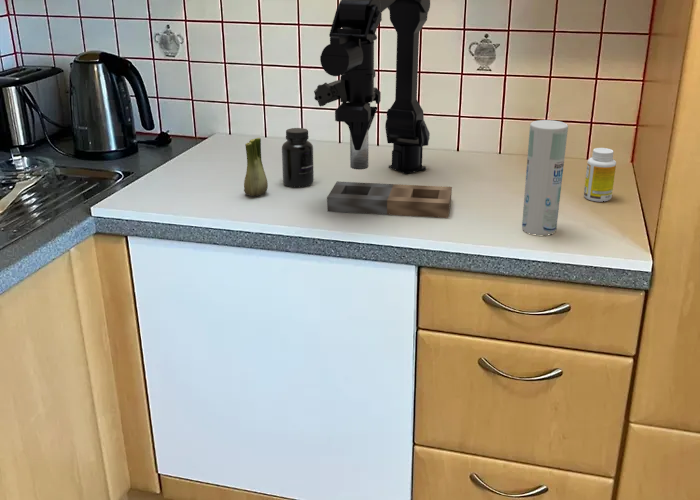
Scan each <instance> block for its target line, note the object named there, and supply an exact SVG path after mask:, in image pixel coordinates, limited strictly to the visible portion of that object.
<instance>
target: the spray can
mask: <svg viewBox="0 0 700 500" xmlns="http://www.w3.org/2000/svg"><path fill="white" fill-rule="evenodd" d="M568 131H569V126H568V124H567V123H566V122H563V121H559V120H552V119H551V120H550V119H541V120H534V121H532V122H530V124H529V134H528V147H527V148H528V149H527V158H526V171H525V172H526V175H525V185H524V194H523V195H524V197H523V209H522V221H521V228H522V229H523V230H524V231H525V232H524V231H523V230H522V231H523V232H524V233H526V232H527V233H526V234H528V233H530V234H529V235H531V234H536V235H548V234H552V233H554V232H555V231H557V227H558V219H559V209H560V201H561V191H562V182H563V174H564V168H565V167H564V166H565V158H566V148H567V139H568ZM555 233H556V232H555ZM555 233H554V234H555ZM536 235H535V236H536ZM552 235H553V234H552ZM548 236H549V235H548Z"/></svg>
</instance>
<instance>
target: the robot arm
mask: <svg viewBox="0 0 700 500" xmlns="http://www.w3.org/2000/svg"><path fill="white" fill-rule="evenodd" d="M430 8H431V0H340V1H339V4H338V5H337V6H336V11H335V13H334V17H333V21H332V23H331V28H330V30H329V34H328V35H329V44H327V45H326V46H325V47H324V48H323V49H322V50H321V53H320V55H319V57H320V59H319V60H320V65H321V68H322V69H323V70H324V72H325V73H326V74H327V75H328V76H332V77H340V79H338V80H333V81H332V82H331V81H330V82H323V83H322V84H318V85H317V87H316V88H315V89H314V91H313V92H314V93H313V94H314V100H315V101H316V102H317V103H318V105H319V107H324V106H326V105H327V104H329V103H332V102H335V101H338V100H340V105H338V107H337V108H336V109H335V111H334V121H335V122H337V123H338V122H340V123H341V122H343V123H344V124H346V125H347V127H348V130H349V135H350V134H351V137H352V141H353V145H354V149H355V150H360V149H361V147H362V144H363V141H364V139H365V136H366V133H367V130H368V132H369V131H370V128H371V126H372V123H373V121H374V118H375V115H376V113H377V110H378V107H377V106H371V103H373V102H375V104H376V105H377V104H378V105H379V104H380V103H381V98H382V97H381V95H382V94H381V93H382V92H381V91H380V90H379V89H378V88H377V87H375V81H374V79H375V77H376V70H375V41H376V40H377V39H378V36H377V34H376V33H377V30H378V27H379V26H380V23H381V22H382V18H383V17H382V15H383V14H382V13H383V12H384V11H385V10H386V9H388V11H389V20H390V23H391V24H392V26H393V29H394V30H395V32H396V58H395V59H396V62H395V64H396V65H395V66H396V67H395V94H394V95H395V97H394V98H395V100H394V102H393V103H392V105H391V106H390V108H388V109H387V111H386V120H385V127H384V128H385V133H386V134H385V135H386V141H387V144H392V147H393V148H392V149H393V150H391V164H389V165H388V168H389V169H391V170H394V171H397V172H399V173H401V174H405V175H406V174H407V175H408V174H413V173H415V172H420V171H424V170H427V166H425V165H423V149H424V148H423V147H426V146H428V147H429V141H430V135H431V133H430V131H429V128H428V126H427V123H426V122H425V119H424V110H423V108H422V106H421V105H420V103H419V101H418V75H419V74H418V73H419V71H418V70H419V47H420V46H419V45H420V31H421V30H422V29H423V27H424V26H425V23H426V22H427V21H428V14H429V11H430Z"/></svg>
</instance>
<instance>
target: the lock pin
mask: <svg viewBox="0 0 700 500" xmlns="http://www.w3.org/2000/svg"><path fill="white" fill-rule="evenodd" d="M349 140H350V141H349V151H350V153H349V154H350V155H349V160H350V165H349V167H350V169H353V170H359V171H360V170H367V169H368V168H369V131H368V130H367V133H366V136H365V139H364V141H363V144H362V147H361V149H360V150H355V149H354V145H353V141H352V137H351V134H350V133H349Z"/></svg>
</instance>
